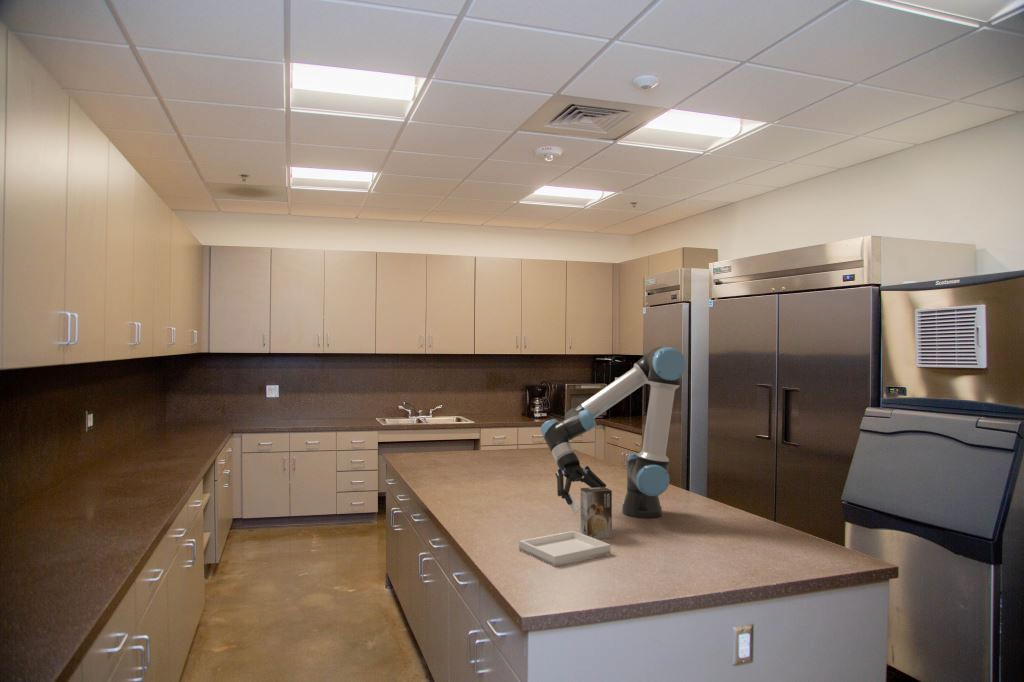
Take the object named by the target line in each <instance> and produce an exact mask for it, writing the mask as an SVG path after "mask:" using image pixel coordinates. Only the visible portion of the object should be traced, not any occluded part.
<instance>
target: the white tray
mask: <svg viewBox="0 0 1024 682" xmlns="http://www.w3.org/2000/svg"><path fill="white" fill-rule="evenodd" d="M518 543H519V544H518V550H520V551H519V552H521V551H523V552H525V553H524V554H526V553H527V554H526V555H528V554H529V555H528V556H530V555H531V556H530V557H532V556H533V557H532V558H534V557H535V558H534V559H536V558H537V559H536V560H538V559H539V561H540V560H541V561H540V562H543V561H544V562H543V563H545V562H546V563H545V564H547V563H548V564H547V565H549V564H550V565H549V566H551V565H552V566H551V567H553V566H554V567H553V568H555V567H556V566H557V567H560V565H561V566H565V565H564V564H566V565H569V563H570V564H574V563H578V562H577V561H579V562H582V561H581V560H583V561H587V560H586V559H588V560H591V559H590V558H592V559H596V558H595V557H597V558H600V557H599V556H601V557H604V555H605V556H608V555H607V554H610V555H611V550H612V549H611V548H612V547H611V543H607V542H605V541H602V540H600V539H594V538H592V537H589V536H586V535H584V534H581V532H578V531H576V530H571V531H570V530H569V531H565V532H559V533H554V534H548V535H544V536H537V537H533V538H527V539H523V540H519V541H518ZM523 552H522V553H523ZM573 562H574V563H573Z"/></svg>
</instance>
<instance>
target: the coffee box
mask: <svg viewBox="0 0 1024 682" xmlns="http://www.w3.org/2000/svg"><path fill="white" fill-rule="evenodd" d="M612 497H613V492H612V490H611V489H610V488H608V487H592V488H591V487H580V533H581V534H584V535H586V536H589V537H592V538H594V539H595V538H601V539H609V538H608V537H612V538H613V529H612V528H613V511H612V509H613V508H612V507H613V503H612V501H613V498H612Z"/></svg>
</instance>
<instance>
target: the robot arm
mask: <svg viewBox="0 0 1024 682" xmlns="http://www.w3.org/2000/svg"><path fill="white" fill-rule="evenodd" d="M686 361H687V360H686V358H685V356H684V354H683V353H682V352H681V351H679V350H678V349H676V348H674V347H670V346H664V347H663V346H661V347H659V346H658V347H655V348H653V349H651V350H650V351H649V352H648V353H646V354H645V355H643V357H641V358H640V359H639V360H638V361H636V362H635V363H634V364H633V367H632V368H630V370H628V371H626V372H625V373H623V374H622V375H621V376H619V377H618V378H616V379H615V380H614V381H612V382H611V383H609V384H607V385H606V386H605V387H603V388H601V390H599V391H598V392H597V393H595V394H594V395H592V396H591V397H590V398H588V399H586V400H585V401H583V402H581V403H580V405H577V407H574V408H572V409H570V410H568V411H567V412H566V414H565V416H564V420H561V421H559V420H557V419H555V418H553V419H549V420H547V421H544V423H543V424H541V427H540V433H541V435H542V437H543V439H544V441H545V443H546V445H547V447H548V449H549V450H550V452H551V455H552V457H553V458H554V460H555V462H556V465H557V467H558V469H557V470H556V471H555V476H556V479H557V481H556V483H557V485H556V491H557V496H558V497H561V499H565V501H566V503H567V505H569V506H570V508H571V511H572V512H573V515H577V514H578V513H579V511H581V508H579V506H578V503H577V501H576V499H575V498H574V496H573V494H572V492H570V490H571V486H572V483H575V482H581V483H584V484H585V485H586V486H587V485H588V487H589V488H592V487H605V488H607V483H605V482H604V481H602V480H601V478H600V477H598V475H596V474H595V472H593V471H592V470H591V468H590V467H589V466H588V465H586V466H585V467H582V466H581V463H580V459H579V458H578V456H577V454H576V453H575V452H576V451H574V449H573V447H572V444H571V443H570V441H571V440H573V439H575V438H577V437H579V436H581V435H583V434H585V433H586V432H590V431H591V430H592V429H594V428H595V427H596V426H597V422H596V420H595V419H596V418H597V417H599V416H600V415H602V414H603V413H605V412H606V411H607V410H609V409H610V408H612V407H613V406H615V405H616V404H619V402H621V401H622V400H623V399H625V398H626V397H628V396H630V395H631V394H632V393H633V392H635V391H636V390H637V389H639V388H641V387H642V386H644V385H645V384H646V385H650V391H649V392H650V393H649V400H648V406H647V411H646V412H647V413H646V419H645V420H646V421H645V428H644V435H643V442H642V449H641V451H640V452H638V453H629V454H628V455H627V461H626V463H627V464H626V468H627V469H626V470H627V471H626V473H627V474H626V475H627V476H626V495H625V497H624V501H623V504H622V506H621V508H622V509H621V512H622V513H623V514H624V515H626V516H629V517H633V518H642V519H643V518H644V519H648V518H658V517H661V516H662V515H663V507H662V506H661V501H660V498H659V496H660V495H662V494H663V493H665V492H666V491H667V489H668V488H669V486H670V475H669V472H668V470H669V464H670V459H669V458H668V456H667V455H666V454H667V447H668V439H669V433H670V426H671V419H672V411H673V407H674V406H673V405H674V399H675V391H676V390H677V389H679V388H680V387H681V381H682V380H681V379H682V377H683V375H684V373H685V371H686V368H687V362H686ZM564 478H566V479H565V483H564Z"/></svg>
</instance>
